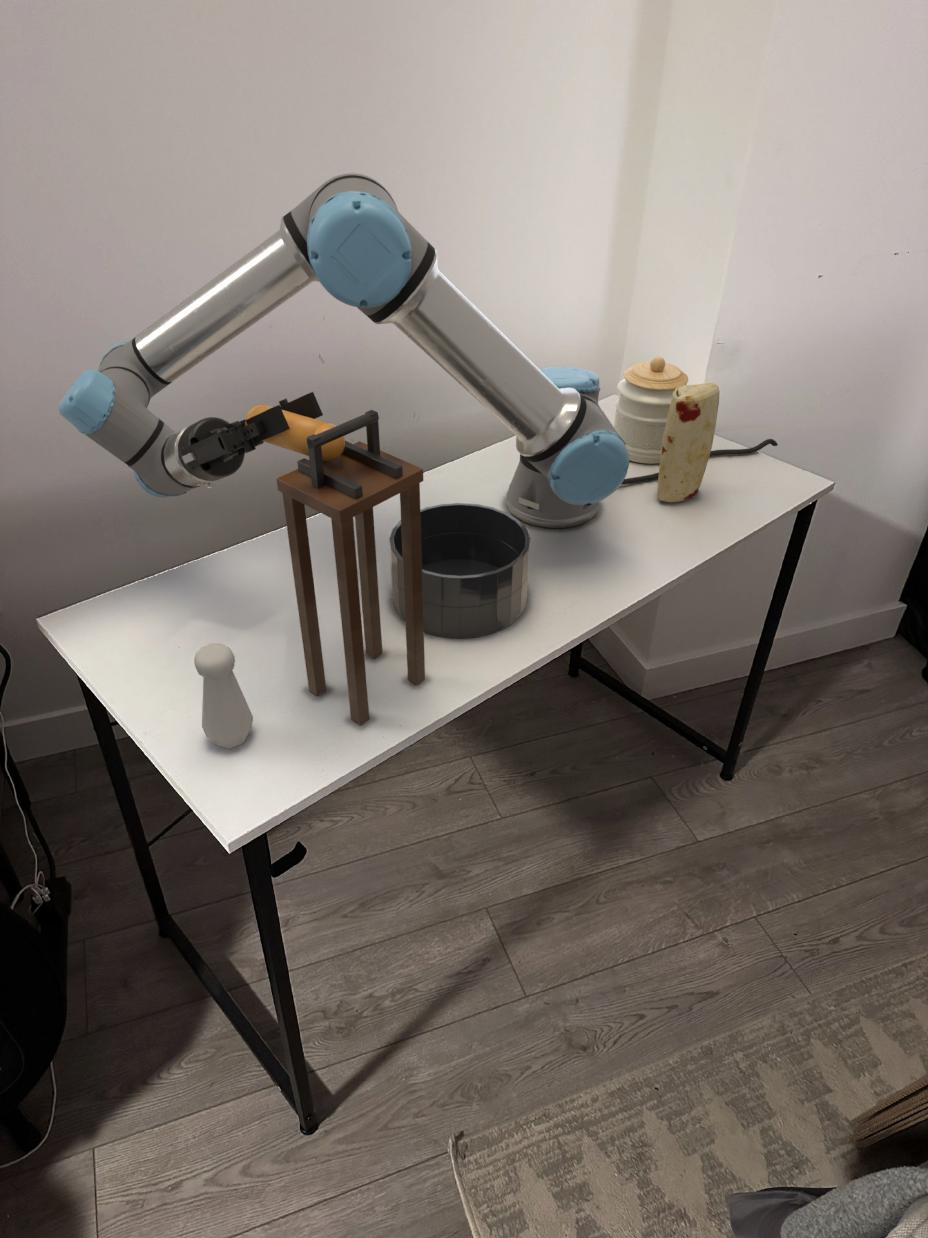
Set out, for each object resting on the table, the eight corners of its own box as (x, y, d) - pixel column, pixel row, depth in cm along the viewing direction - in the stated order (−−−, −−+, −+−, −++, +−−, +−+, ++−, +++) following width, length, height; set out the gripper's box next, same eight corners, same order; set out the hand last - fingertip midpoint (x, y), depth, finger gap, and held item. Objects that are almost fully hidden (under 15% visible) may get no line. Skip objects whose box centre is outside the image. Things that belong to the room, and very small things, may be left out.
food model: (671, 512, 147) (690, 398, 134) (643, 496, 151) (659, 384, 139) (712, 496, 151) (734, 384, 139) (684, 480, 155) (703, 371, 143)
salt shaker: (237, 760, 102) (219, 674, 94) (195, 746, 103) (174, 661, 95) (264, 726, 106) (249, 642, 98) (224, 714, 108) (205, 630, 100)
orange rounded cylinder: (242, 441, 102) (234, 408, 100) (269, 430, 104) (262, 397, 102) (327, 470, 93) (321, 434, 91) (355, 457, 95) (350, 421, 93)
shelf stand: (305, 691, 111) (269, 429, 90) (374, 646, 118) (356, 394, 97) (359, 728, 106) (335, 460, 84) (428, 679, 113) (422, 420, 92)
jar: (609, 432, 171) (620, 342, 160) (677, 435, 170) (692, 345, 159) (611, 463, 161) (622, 369, 150) (683, 467, 159) (700, 373, 149)
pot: (512, 555, 136) (515, 498, 130) (539, 632, 121) (543, 571, 115) (387, 565, 134) (384, 507, 128) (399, 644, 119) (396, 583, 113)
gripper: (270, 457, 119) (370, 419, 101) (161, 504, 109) (250, 471, 91) (246, 403, 117) (343, 355, 99) (132, 446, 107) (218, 401, 89)
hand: (298, 411), depth 95 cm, fingers closed on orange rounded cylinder, 4 cm apart
